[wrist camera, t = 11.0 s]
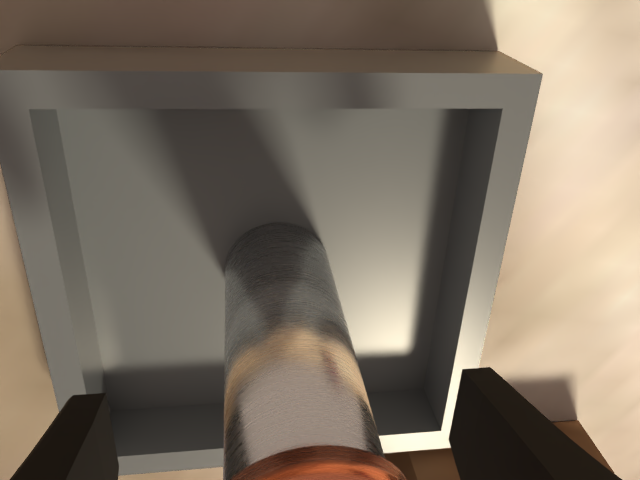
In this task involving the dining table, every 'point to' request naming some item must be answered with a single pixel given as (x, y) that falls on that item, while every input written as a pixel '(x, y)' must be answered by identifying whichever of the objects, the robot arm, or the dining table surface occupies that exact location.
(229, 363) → the pin
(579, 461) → the robot arm
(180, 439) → the tray
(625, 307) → the dining table surface
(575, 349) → the dining table surface
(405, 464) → the pin block
